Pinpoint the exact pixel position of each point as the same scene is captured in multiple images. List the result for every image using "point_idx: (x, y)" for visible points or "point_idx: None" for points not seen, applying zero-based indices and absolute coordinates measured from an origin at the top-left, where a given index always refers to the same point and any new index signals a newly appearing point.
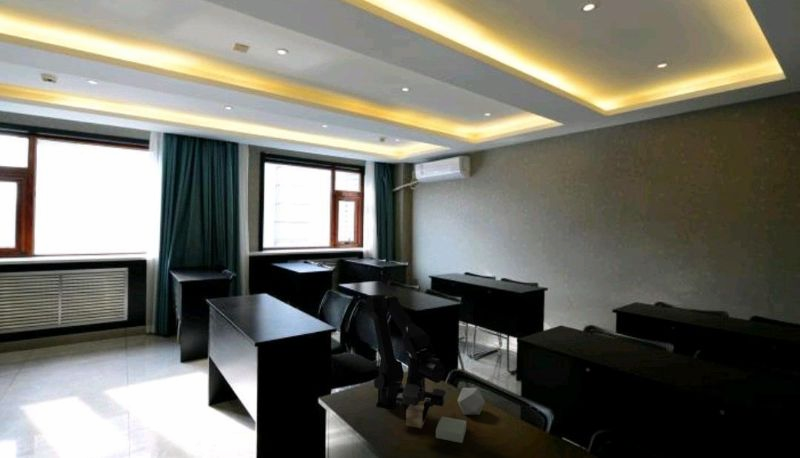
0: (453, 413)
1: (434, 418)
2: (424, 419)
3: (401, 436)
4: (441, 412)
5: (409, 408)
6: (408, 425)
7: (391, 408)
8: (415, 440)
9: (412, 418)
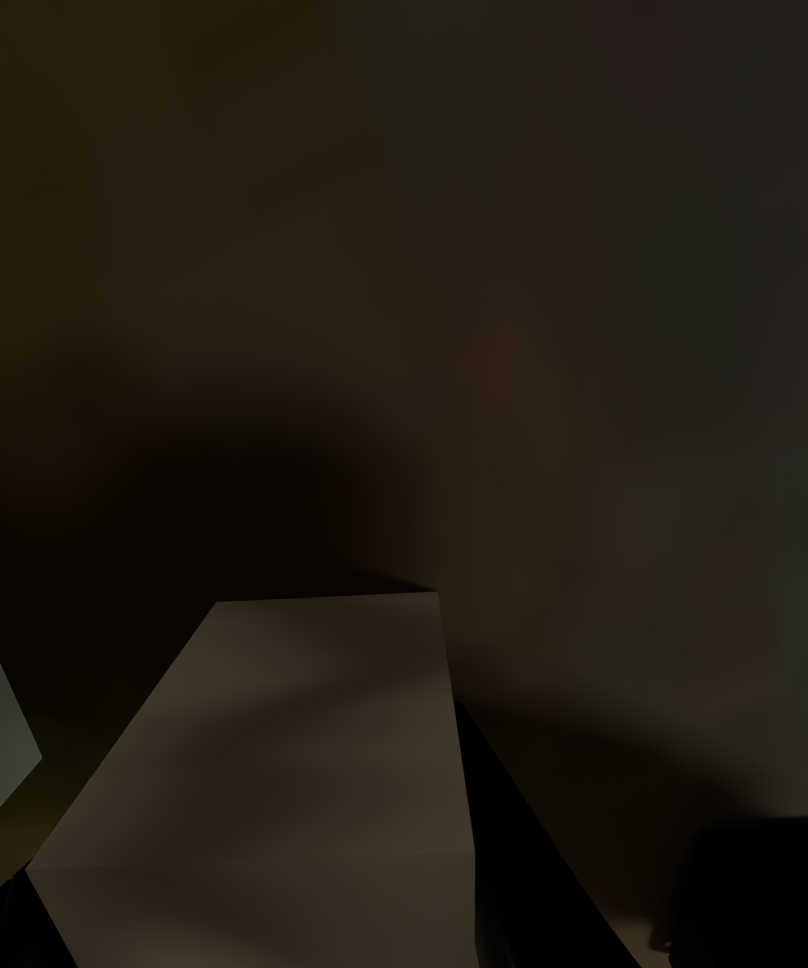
0: None
1: None
2: None
3: (398, 276)
4: None
5: (419, 921)
6: (401, 596)
7: (724, 836)
8: (130, 254)
9: (325, 688)
